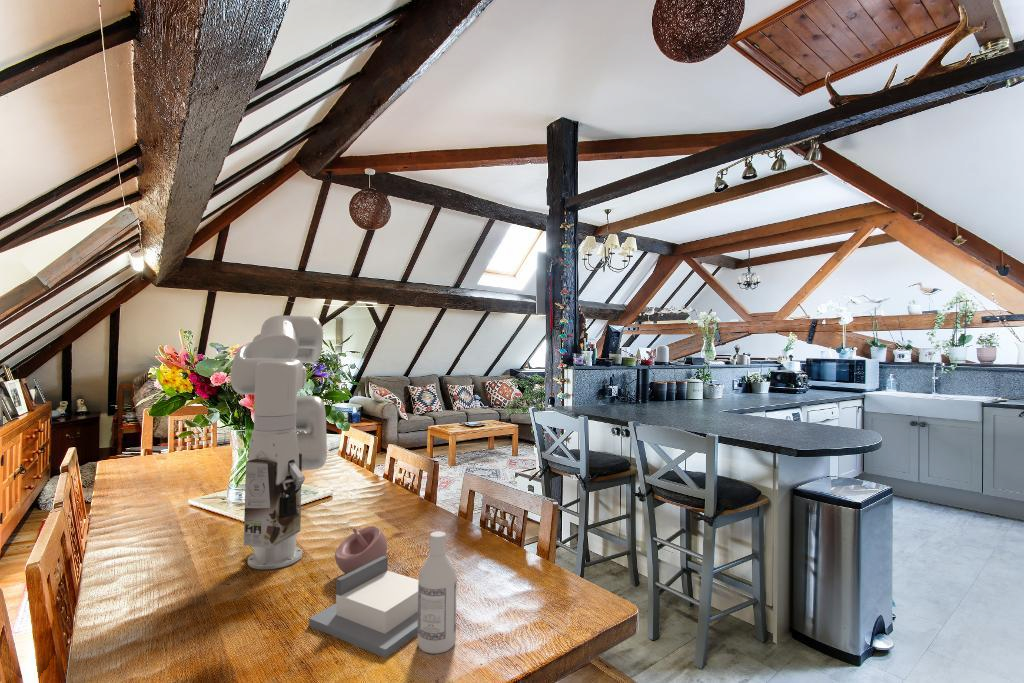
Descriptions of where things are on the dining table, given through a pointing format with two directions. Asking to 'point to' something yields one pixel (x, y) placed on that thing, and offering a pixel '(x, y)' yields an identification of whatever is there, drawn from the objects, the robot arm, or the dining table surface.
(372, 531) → the mortar and pestle
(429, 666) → the dining table surface
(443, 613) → the bath foam
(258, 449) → the robot arm
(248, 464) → the coffee box
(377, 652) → the display stand
